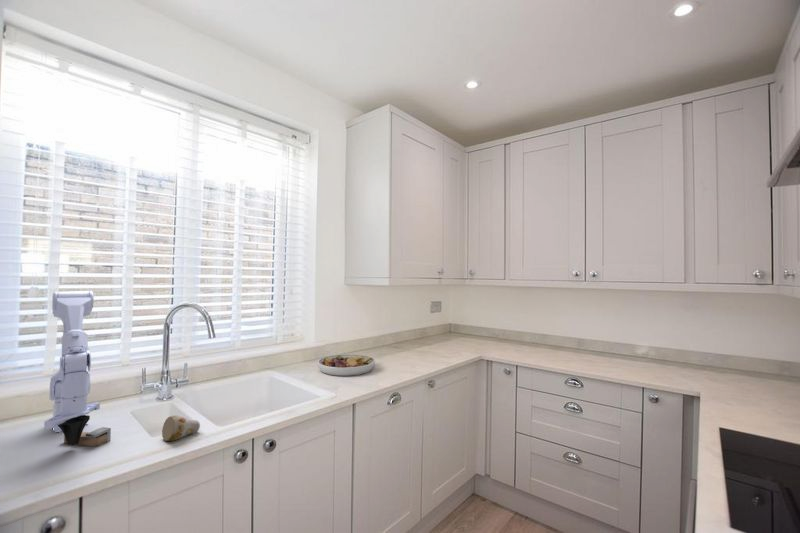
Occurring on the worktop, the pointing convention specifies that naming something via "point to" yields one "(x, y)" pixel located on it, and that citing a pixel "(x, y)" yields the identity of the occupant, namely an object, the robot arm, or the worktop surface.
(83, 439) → the link
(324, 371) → the bowl
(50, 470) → the worktop surface
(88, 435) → the bracket
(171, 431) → the grey-brown rounded piece
